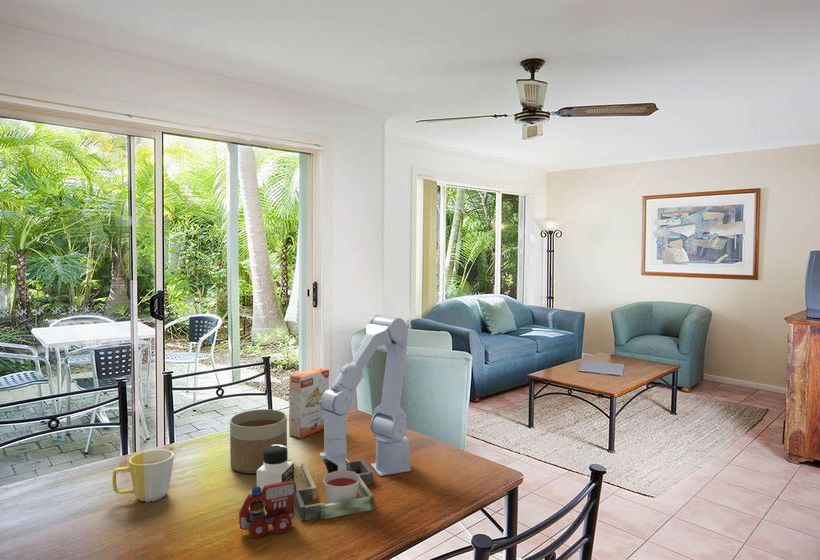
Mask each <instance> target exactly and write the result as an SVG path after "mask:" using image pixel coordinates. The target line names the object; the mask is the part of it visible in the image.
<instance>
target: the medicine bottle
mask: <svg viewBox="0 0 820 560" xmlns="http://www.w3.org/2000/svg"><path fill="white" fill-rule="evenodd" d="M288 460H289V459H288V446H287V447H286V446H283V445H278V444H277V445H271V446H268V447H266V448H265V449H264V450H263V464H264V465H262V466H261V467H260V468H259V469H258V470H257V473H256V486H258V487H260V488H261V492H262V490H263V487H264V486H266V485H270V484H276V483H281V482H286V481H294V482H295V462H294V461H291V460H290V461H288Z"/></svg>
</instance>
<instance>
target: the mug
mask: <svg viewBox="0 0 820 560" xmlns="http://www.w3.org/2000/svg"><path fill="white" fill-rule="evenodd" d="M174 455H175V453H174V452H173V451H172V450H169V449H163V448H161V449H160V448H159V449H158V448H157V449H150V450H145V451H141V452H139V453H136V454H134V455H132V456H131V457H129V459H128V466H121V467H120V466H119V467H116V468H114V469H113V472H112V476H111V477H112V479H111V480H112V488H113V491H114V493H115V494H116V495H117V494H118V495H125V494H134V495H135V497H136V499H138V500H139V501H140V502H143V501H145V502H144V503H151V502H150V501H152V502H155V501H159V500H160V499H162V497H163V498H164V497H165V495H167V493H168V492H169V490H170V485H171V478H172V472H173V466H174V464H173V463H174V458H175V456H174ZM123 471H124V472H128V473H130V476H131V482H132V486H133V488H132V487H131V488H128V489H119V488H118V486H117V473H118V472H123ZM158 499H159V500H158Z"/></svg>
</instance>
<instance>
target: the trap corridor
mask: <svg viewBox="0 0 820 560" xmlns="http://www.w3.org/2000/svg"><path fill="white" fill-rule="evenodd" d="M346 461H347V462H348V464H347V466H346V470H347V471H353V472H355V473H357V472H360V473H357V474H358V475H359V476H360V481H359V486H358V492H357V493H358V494H359V495H360V496H361V497H358V498H357V497H356V499H351V500H346V501H340V502H335V503H329V504H328V503H324V502H323V501H322V502H319V503H312V504H307V505H305V504H304V503H305V502H309V501H316V500H317V486H316V484H315V482H314V479H313V478H312V476H311V474H310V472H309V470H308V468H307V466H306V464H305V462H303V463H300V475H301V478H302V480H303V482H304V485H305V486H306V487H302V488H297V489H296V493H295V494H294V507H295V508H296V511H297V513H298V516H299V519H300V521H303V520H305V521H310V520H314V519H319V518H320V520H325V519H331V518H335V517H341V516H348V515H353V514H357V513H363V512H367V511H373V510H375V496H374V495H373V493H372V492H371V490H370V489H369V488H368V486H369V485H371V484H373V480H374V478H373V474H374V473H373V471H372V469H371V468H370V466H368V464H367V463H366V462H365V460H364V459H353V460H349V459H348V458H346Z"/></svg>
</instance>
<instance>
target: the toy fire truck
mask: <svg viewBox="0 0 820 560" xmlns="http://www.w3.org/2000/svg"><path fill="white" fill-rule="evenodd" d="M296 490H297V484H296V482H295V480H294V481H286V482H281V483H276V484H270V485H266V486H264V487H263V490H262V492H261V488H260V487H258V486H257V485H256V486H254V487H253V488H252V489H251V493H250V494H248V495H247V496H246V497H245V500H244V501H243V503H242V506H241V508H240V510H239V512H238V513H239V514H238V516H239V517H238V518H239V519H238V520H239V524H238V525H239V528H240V529H241V530H242V531H244V530H248V531H249V535H250V536H251V537H252V538H253V539H261V538H264V536H266V534H267V532H268V531H269V525H272V528H273V531H274V532H275V533H276V534H280V535H281V534H282V535H283V534H286V533H288V532H289V530H290V529H291V527H292V524H293V523H292V522H293V521H292V519H294V517H295V503H294V494H295V493H296Z"/></svg>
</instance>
